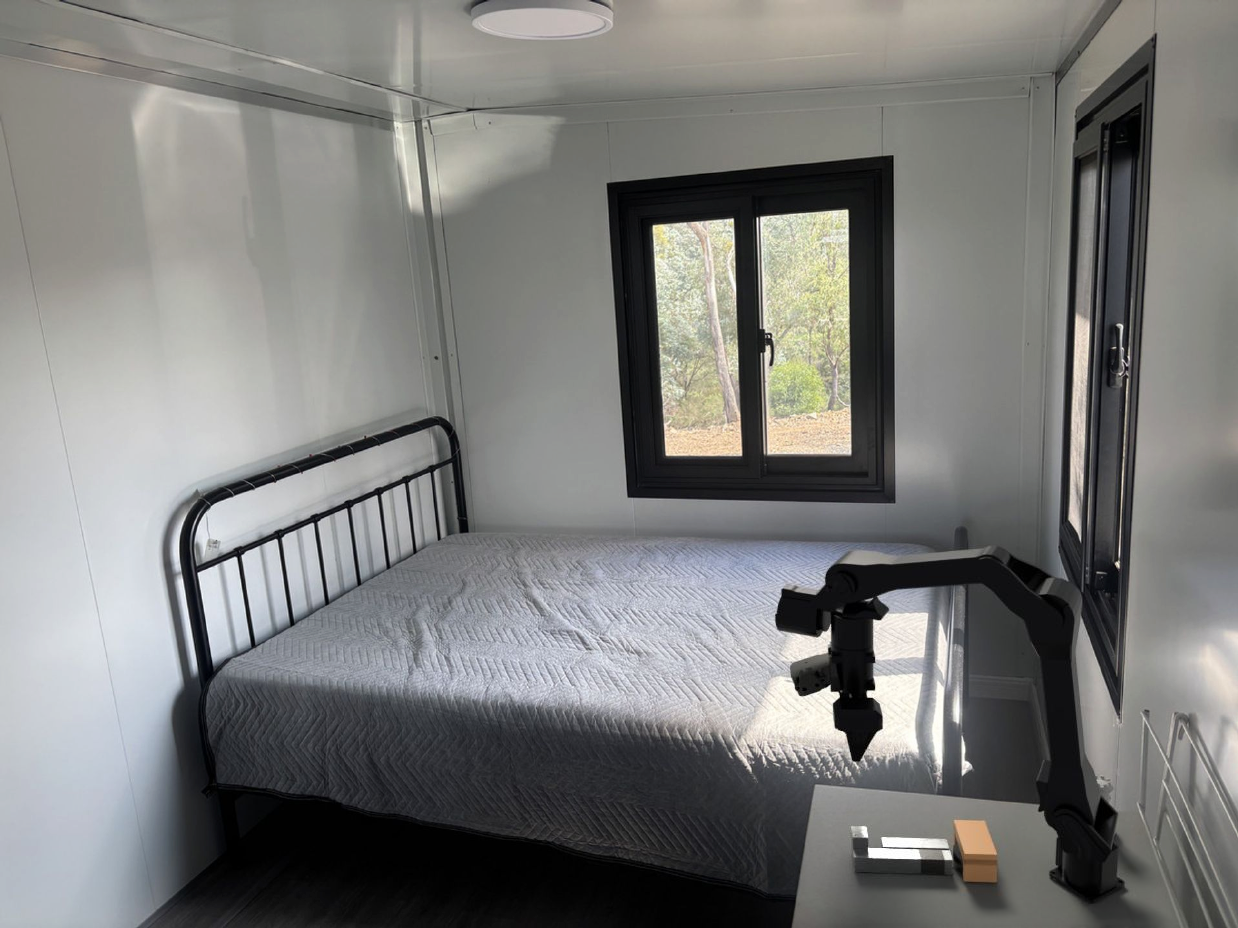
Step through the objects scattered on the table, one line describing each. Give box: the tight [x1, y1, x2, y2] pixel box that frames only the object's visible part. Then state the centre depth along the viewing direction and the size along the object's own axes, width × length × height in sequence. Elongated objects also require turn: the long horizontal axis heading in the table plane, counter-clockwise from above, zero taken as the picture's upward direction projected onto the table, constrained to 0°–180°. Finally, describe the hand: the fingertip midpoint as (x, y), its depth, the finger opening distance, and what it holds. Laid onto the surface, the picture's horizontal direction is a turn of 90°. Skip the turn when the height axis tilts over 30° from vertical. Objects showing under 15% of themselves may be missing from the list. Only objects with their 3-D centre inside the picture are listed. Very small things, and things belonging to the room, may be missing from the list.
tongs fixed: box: [881, 837, 963, 875], centre depth 128 cm, size 13×4×2 cm, turn 82°
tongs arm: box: [850, 825, 954, 876], centre depth 128 cm, size 12×4×4 cm, turn 82°
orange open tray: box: [952, 819, 998, 883], centre depth 126 cm, size 4×7×4 cm, turn 172°
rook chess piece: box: [1095, 774, 1117, 836], centre depth 131 cm, size 4×4×8 cm
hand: (852, 743), depth 136 cm, fingers open, 9 cm apart
